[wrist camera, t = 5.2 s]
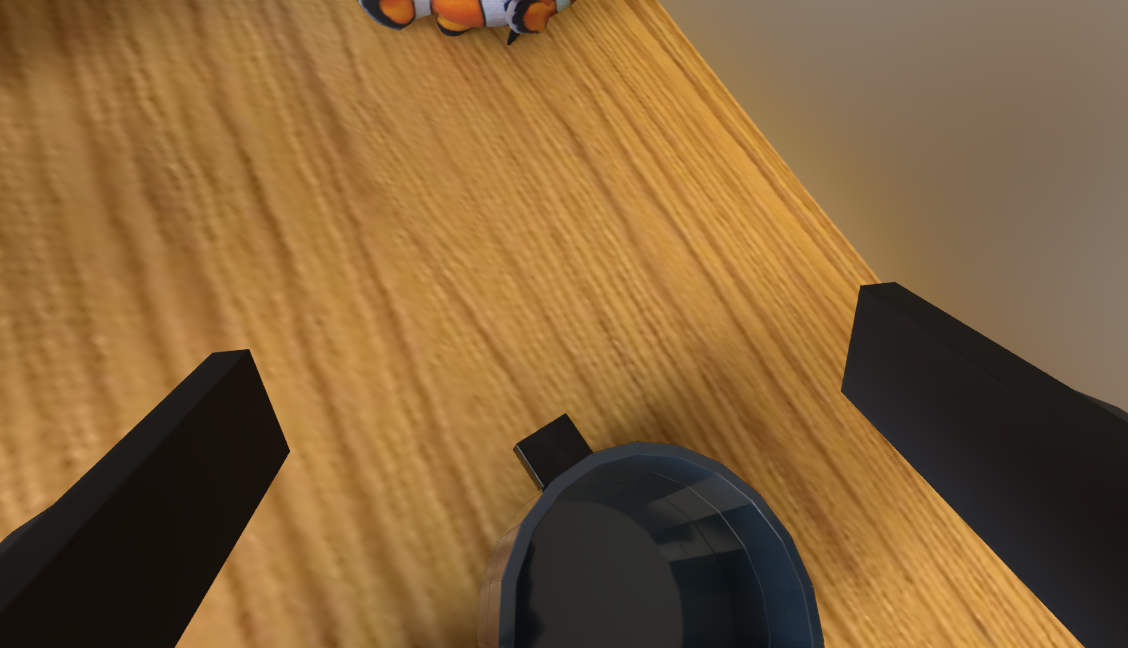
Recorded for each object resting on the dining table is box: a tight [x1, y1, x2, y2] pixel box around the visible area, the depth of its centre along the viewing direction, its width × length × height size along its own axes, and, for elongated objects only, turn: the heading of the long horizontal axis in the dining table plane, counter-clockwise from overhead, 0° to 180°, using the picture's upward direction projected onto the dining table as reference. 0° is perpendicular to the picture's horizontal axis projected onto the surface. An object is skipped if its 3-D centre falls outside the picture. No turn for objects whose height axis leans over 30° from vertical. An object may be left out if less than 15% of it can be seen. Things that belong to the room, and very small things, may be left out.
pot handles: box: [513, 413, 593, 491], centre depth 22 cm, size 3×18×1 cm, turn 36°
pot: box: [477, 441, 825, 648], centre depth 24 cm, size 14×14×6 cm
